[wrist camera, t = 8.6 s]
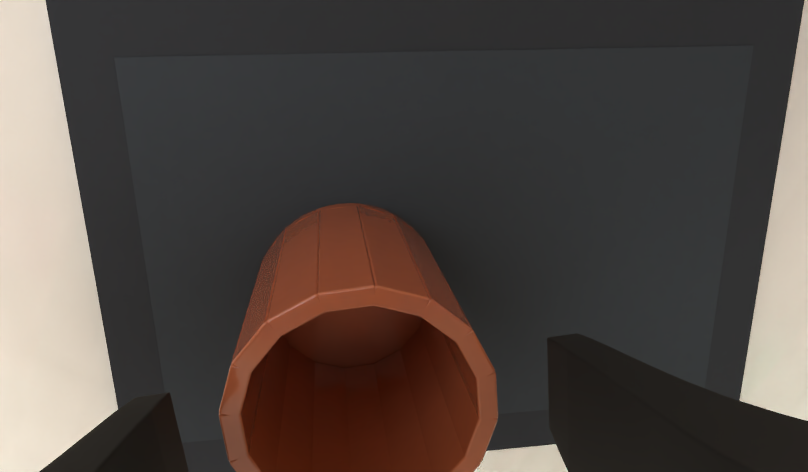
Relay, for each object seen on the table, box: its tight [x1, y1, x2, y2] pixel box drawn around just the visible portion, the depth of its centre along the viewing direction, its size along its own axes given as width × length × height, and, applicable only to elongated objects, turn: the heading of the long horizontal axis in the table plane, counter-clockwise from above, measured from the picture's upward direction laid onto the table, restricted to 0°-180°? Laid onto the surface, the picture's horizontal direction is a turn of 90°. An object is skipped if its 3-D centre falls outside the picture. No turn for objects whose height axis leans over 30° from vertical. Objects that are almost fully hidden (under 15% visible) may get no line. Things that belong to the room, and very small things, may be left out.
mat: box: [46, 0, 804, 472], centre depth 18 cm, size 20×14×1 cm
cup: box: [219, 203, 498, 472], centre depth 14 cm, size 5×5×6 cm
